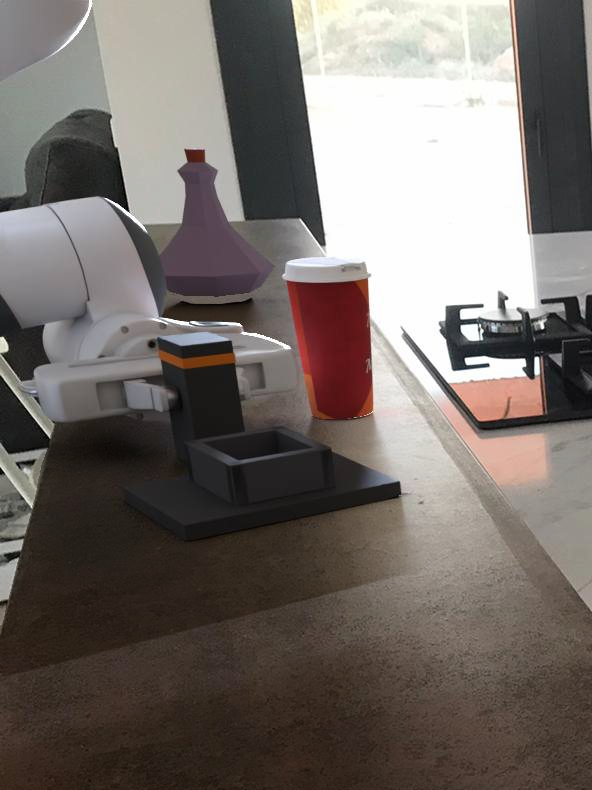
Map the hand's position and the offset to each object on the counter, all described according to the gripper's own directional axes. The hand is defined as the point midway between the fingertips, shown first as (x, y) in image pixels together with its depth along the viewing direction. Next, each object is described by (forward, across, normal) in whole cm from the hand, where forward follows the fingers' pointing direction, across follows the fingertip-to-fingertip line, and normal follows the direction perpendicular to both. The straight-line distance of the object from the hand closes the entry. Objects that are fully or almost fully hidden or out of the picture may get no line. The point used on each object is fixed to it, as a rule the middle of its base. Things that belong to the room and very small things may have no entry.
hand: (206, 395), depth 103 cm
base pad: (+12, -1, +6) cm, 13 cm away
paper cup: (-9, +15, +6) cm, 19 cm away
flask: (-81, +32, +6) cm, 87 cm away
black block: (-1, 0, +6) cm, 6 cm away
